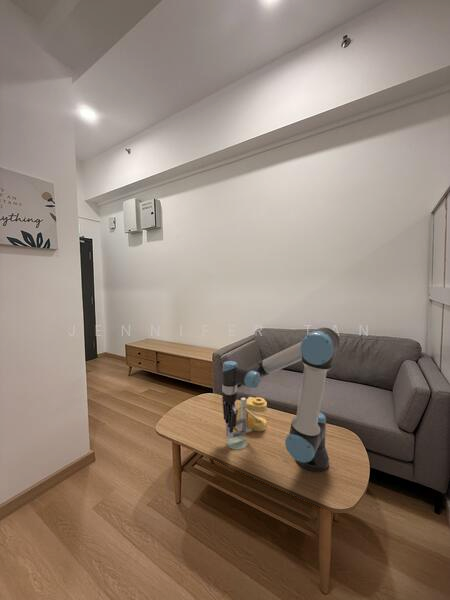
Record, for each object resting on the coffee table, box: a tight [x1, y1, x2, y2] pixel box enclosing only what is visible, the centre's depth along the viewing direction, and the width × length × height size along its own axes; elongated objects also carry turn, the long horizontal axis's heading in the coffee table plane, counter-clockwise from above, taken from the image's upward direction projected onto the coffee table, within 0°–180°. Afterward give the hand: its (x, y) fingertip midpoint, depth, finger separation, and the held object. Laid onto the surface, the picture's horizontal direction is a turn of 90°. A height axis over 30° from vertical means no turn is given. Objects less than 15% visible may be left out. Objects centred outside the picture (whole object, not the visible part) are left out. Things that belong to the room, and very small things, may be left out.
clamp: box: [236, 396, 268, 433], centre depth 145 cm, size 20×9×16 cm, turn 62°
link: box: [228, 418, 247, 439], centre depth 128 cm, size 2×10×8 cm, turn 115°
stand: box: [234, 397, 260, 434], centre depth 134 cm, size 20×7×18 cm, turn 25°
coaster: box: [226, 435, 249, 451], centre depth 128 cm, size 11×11×1 cm
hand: (229, 436), depth 126 cm, fingers closed on link, 1 cm apart
